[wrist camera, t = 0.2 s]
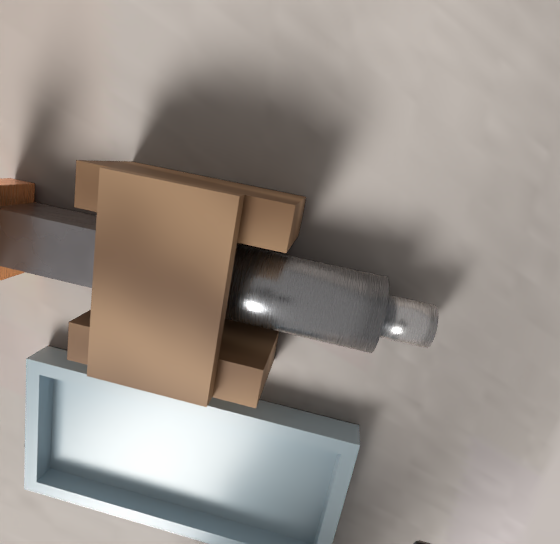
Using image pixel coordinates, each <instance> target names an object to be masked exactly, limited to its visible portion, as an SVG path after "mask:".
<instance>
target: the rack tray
mask: <svg viewBox="0 0 560 544" xmlns="http://www.w3.org/2000/svg"><path fill="white" fill-rule="evenodd" d="M359 448H360V433H359V425H356V424H352V423H348V422H344V421H340V420H337V419H333V418H329V417H325V416H321V415H317V414H313V413H309V412H305V411H301V410H297V409H293V408H290V407H286V406H282V405H278V404H274V403H270V402H266V401H262V400H259V402H258V404H257V407H256V408H252V407H248V406H245V405H241V404H237V403H233V402H229V401H225V400H221V399H217V398H214V397H212V399H211V400H210V402H209V404H208V406H207V407H203V406H199V405H196V404H192V403H188V402H184V401H180V400H176V399H173V398H169V397H165V396H161V395H157V394H153V393H150V392H146V391H142V390H138V389H134V388H130V387H127V386H123V385H119V384H115V383H111V382H108V381H104V380H100V379H96V378H92V377H88V376H87V365H86V364H82V363H78V362H74V361H70V360H67V350H63V349H59V348H55V347H51V346H47V347H45V348H43V349H42V350H40V351H38V352H37V353H35V354H33V355H32V356H30V357H28V358H27V359H26V415H25V476H24V489H25V490H29V491H32V492H35V493H39V494H42V495H46V496H49V497H52V498H56V499H59V500H63V501H66V502H69V503H73V504H76V505H79V506H83V507H86V508H90V509H93V510H96V511H100V512H103V513H107V514H110V515H113V516H117V517H120V518H123V519H127V520H130V521H134V522H137V523H140V524H144V525H147V526H151V527H154V528H157V529H161V530H164V531H167V532H171V533H174V534H178V535H181V536H184V537H188V538H191V539H195V540H198V541H201V542H205V543H208V544H332V543H333V540H334V536H335V533H336V529H337V525H338V522H339V518H340V515H341V511H342V508H343V504H344V501H345V497H346V494H347V490H348V487H349V483H350V480H351V476H352V473H353V469H354V466H355V462H356V458H357V455H358V451H359Z"/></svg>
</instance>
